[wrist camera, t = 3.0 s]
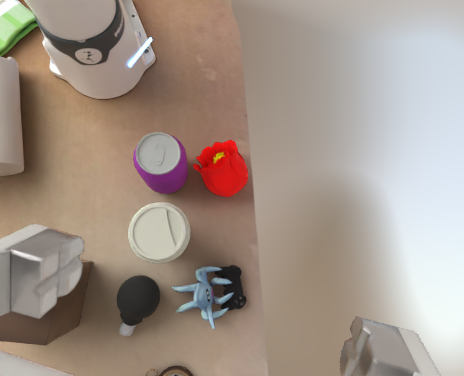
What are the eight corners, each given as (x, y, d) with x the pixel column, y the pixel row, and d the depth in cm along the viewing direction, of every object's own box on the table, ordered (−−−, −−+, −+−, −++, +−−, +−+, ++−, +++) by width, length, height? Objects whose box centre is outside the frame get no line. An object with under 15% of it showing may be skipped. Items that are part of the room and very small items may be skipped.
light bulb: (99, 344, 46) (121, 284, 44) (108, 317, 52) (127, 263, 50) (142, 353, 47) (165, 295, 46) (146, 326, 53) (166, 274, 52)
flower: (228, 210, 51) (206, 173, 47) (205, 195, 57) (184, 161, 53) (262, 181, 53) (245, 143, 49) (237, 169, 59) (219, 134, 55)
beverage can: (151, 148, 57) (138, 121, 45) (192, 158, 57) (191, 134, 45) (139, 189, 55) (123, 171, 43) (182, 199, 55) (178, 184, 44)
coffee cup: (182, 268, 53) (178, 272, 42) (133, 253, 53) (115, 253, 41) (198, 219, 55) (198, 210, 44) (151, 205, 55) (138, 192, 43)
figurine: (168, 280, 54) (163, 274, 46) (235, 259, 56) (240, 251, 49) (181, 339, 50) (178, 342, 43) (252, 314, 53) (260, 314, 46)
